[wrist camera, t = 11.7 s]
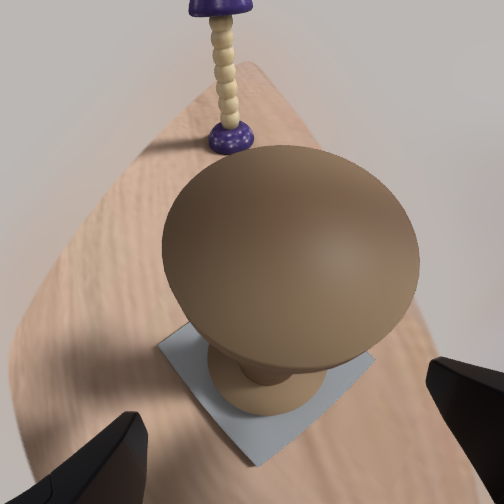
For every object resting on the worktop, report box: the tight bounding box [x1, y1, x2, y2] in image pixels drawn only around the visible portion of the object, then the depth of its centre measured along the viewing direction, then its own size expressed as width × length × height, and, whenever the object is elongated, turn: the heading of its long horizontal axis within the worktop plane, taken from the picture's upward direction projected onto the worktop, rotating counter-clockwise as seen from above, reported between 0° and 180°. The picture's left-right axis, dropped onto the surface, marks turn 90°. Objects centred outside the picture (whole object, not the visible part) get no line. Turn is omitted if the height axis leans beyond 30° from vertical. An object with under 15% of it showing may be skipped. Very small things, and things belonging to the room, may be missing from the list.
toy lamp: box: [189, 0, 254, 154], centre depth 20 cm, size 5×5×17 cm
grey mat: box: [158, 322, 375, 467], centre depth 16 cm, size 9×9×1 cm
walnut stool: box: [162, 145, 420, 416], centre depth 11 cm, size 6×6×12 cm
